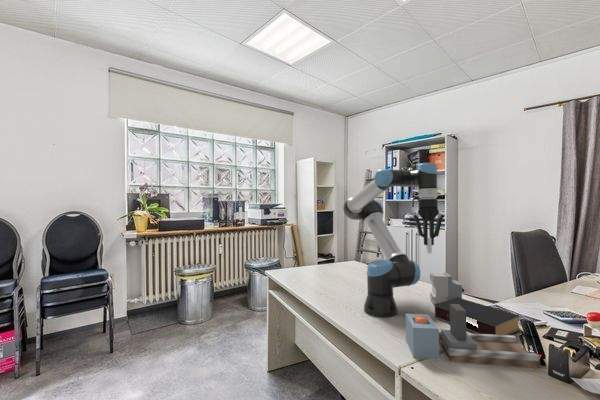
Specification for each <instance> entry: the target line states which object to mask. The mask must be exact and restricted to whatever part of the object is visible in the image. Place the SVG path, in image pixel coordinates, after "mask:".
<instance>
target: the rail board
mask: <svg viewBox="0 0 600 400" xmlns="http://www.w3.org/2000/svg"><path fill="white" fill-rule="evenodd" d="M467 333H468V332H467ZM468 335H469V336H470V337H471V338H472V339H473V340H474V341H475V342H476V343H477V350H474V349H458V348H448V347H447V345H446V344H445V342H444V341H443V339H442V338H441V331H439V348H441V350H442V352H443V353H444V355H445V356H446V358H447V360H448V361H449V362H450V363H461V364H473V365H474V364H477V365H489V366H504V367H505V366H507V367H519V368H521V367H522V368H532V369H534V368H535V369H541V361H540V360H541V359H540V358H541V357H540V354H538V353H537V352H530V351H528V350H527V349H526V348H524V346H522V345H521V344H520V343H519V342H518V338H517V337H516V336H515V335H512V334H510V335H493V334H476V333H474V332H472V333H471V332H470V333H468Z"/></svg>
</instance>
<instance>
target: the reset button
mask: <svg viewBox="0 0 600 400" xmlns="http://www.w3.org/2000/svg"><path fill="white" fill-rule="evenodd" d="M415 323H418V324H427V318H426V317H424V316H415Z"/></svg>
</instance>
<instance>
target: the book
mask: <svg viewBox="0 0 600 400" xmlns="http://www.w3.org/2000/svg"><path fill="white" fill-rule="evenodd" d="M450 304H459V305H460V306H461V307H462V308H464V309H465V310H466V317H469V318H472V319H475V320H477V324H478V328H477V327H476V326H473V325H472V324H470V323H468V322H466V331H470V333H471V332H472V333H474V334H493V335H512V334H514V333H516V332H518V331H520V328H519V327H520V326H519V325H520V321H519V317H520V315H519V314H517V313H511V312H509V311H506V310H502V309H499V308H494V307H491V306H488V305H485V304H481V303H479V302H474V301H471V300H468V299H464V298H462V299H461V298H454V299H451V300H448V301H444V302H441V303H437V304H435V305H434V306H433V307H434V319H437V320H441V321H443V322H446V323H448V324H450Z"/></svg>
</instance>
